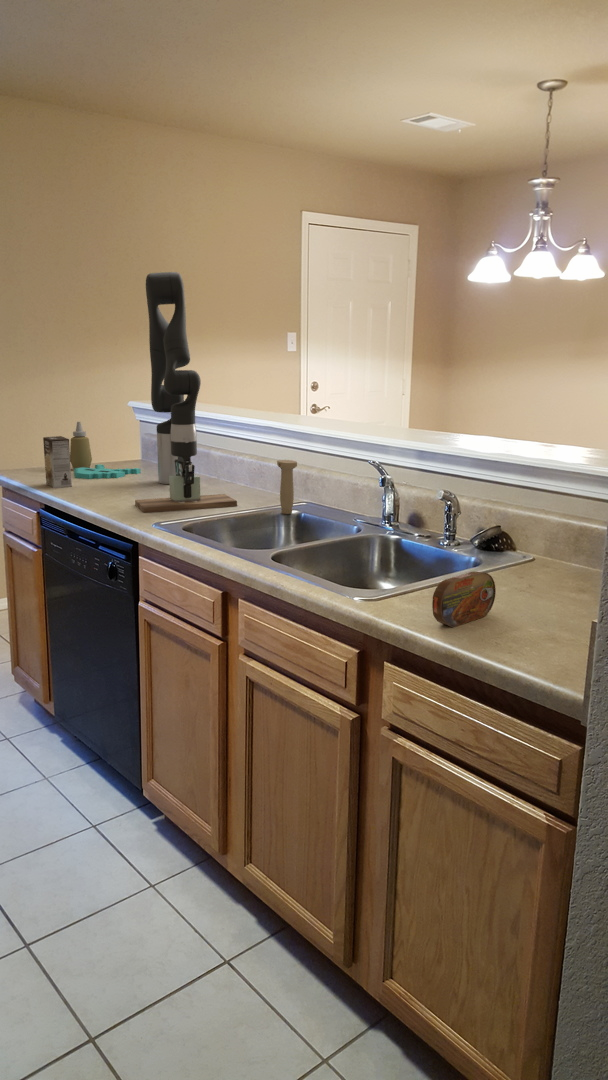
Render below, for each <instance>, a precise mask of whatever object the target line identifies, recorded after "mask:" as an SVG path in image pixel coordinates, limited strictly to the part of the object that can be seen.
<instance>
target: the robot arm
mask: <svg viewBox="0 0 608 1080" xmlns="http://www.w3.org/2000/svg"><path fill="white" fill-rule="evenodd" d="M145 295H146V303H147V312H148V313H147V314H148V325H149V327H148V329H149V334H148V335H149V339H148V342H149V356H150V357H149V358H150V368H151V382H150V383H151V384H150V385H151V386H150V389H151V390H150V394H151V395H150V398H151V399H150V403H151V407H152V408H151V409H152V410H153V411H154V412H156V413H170V418H169V419H167V420H164V421H162V422H160V423H158V424H157V425H156V448H157V453H156V454H157V479H158V483H159V484H163V485H164V484H165V485H170V480H169V476H181V478H183V485H184V486H183V487H184V498H191V497H192V494H191V485H192V484H194V475H195V467H196V466H195V465H194V463H193V462H192V460H191V457H194V456H195V457H196V456H197V454H198V453H197V452H198V451H197V450H198V447H197V446H198V445H197V443H198V441H197V439H198V438H197V426H196V407H197V406H196V405H197V401H198V396H199V393H200V389H201V377H200V374H199V373H198V372H197V371H196V370H192V369H187V370H186V369H183V370H182V369H181V368H183V367H185V366H186V367H187V366H188V365H189V364H190V362H191V354H190V348H189V342H188V335H187V316H186V297H185V296H186V295H185V286H184V281H183V278H182V275H181V274H180V272H177V271H168V272H167V271H165V272H161V271H160V272H152V273H151V272H150V273H149V274H147V275H146V278H145ZM161 305H174V311H173V315H172V317H171V319H170V321H169V322H168V321H167V319H166V318H165V316H164V315H163V314H162V311H161V310H160V307H159V306H161ZM178 369H179V370H178ZM185 396H186V398H185ZM188 478H189V480H187V479H188Z"/></svg>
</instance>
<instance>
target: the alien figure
mask: <svg viewBox="0 0 608 1080" xmlns="http://www.w3.org/2000/svg"><path fill="white" fill-rule="evenodd" d="M73 474H74V478H76V479H84V480H92V479H93V480H95V479H96V480H99V479H107V478H108V479H119V477H120V478H124V476H125V477H126V475H132V474H133V475H138V474H141V468H138V467H135V468H134V467H133V468H129V467H126V468H115V469H113V468H106V467H105V465H104V464H101V463H100V464H99V463H98V464H94V468H92V467H90V468H85V467H81V468H76V469H73ZM112 477H113V478H112Z"/></svg>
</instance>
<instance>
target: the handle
mask: <svg viewBox="0 0 608 1080" xmlns="http://www.w3.org/2000/svg"><path fill="white" fill-rule="evenodd" d="M276 462H277V464H276V465H277V467H278V468H279V469H280V471H281V472H280V473H281V474H280V489H279V491H280V492H279V502H280V508H281V514H282V515H291V514H292V513H293V507H294V498H295V497H294V495H295V491H294V469H295V468H297V467H298V462H297V460H293V459H279V460H277V461H276Z"/></svg>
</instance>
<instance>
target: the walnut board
mask: <svg viewBox="0 0 608 1080" xmlns="http://www.w3.org/2000/svg"><path fill="white" fill-rule="evenodd" d="M134 504H135V505H134V506H136V507H137V508H139V510H140V511H142V512H143V513H156V512H157V513H158V512H159V513H160V512H169V511H171V512H172V511H173V512H174V511H184V510H186V511H187V510H198V509H199V510H201V509H213V508H224V507H226V508H228V507H238V501H237V500H236V499H234V498H232V497H231V496H229V495H227V494H225V493H221V494H205V495H203V494H202V495H200V500H196V501H181V502H174V501H172V500H171V499H170V497H162V498H161V497H160V498H159V497H158V498H146V499H135V500H134ZM200 508H201V509H200Z"/></svg>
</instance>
